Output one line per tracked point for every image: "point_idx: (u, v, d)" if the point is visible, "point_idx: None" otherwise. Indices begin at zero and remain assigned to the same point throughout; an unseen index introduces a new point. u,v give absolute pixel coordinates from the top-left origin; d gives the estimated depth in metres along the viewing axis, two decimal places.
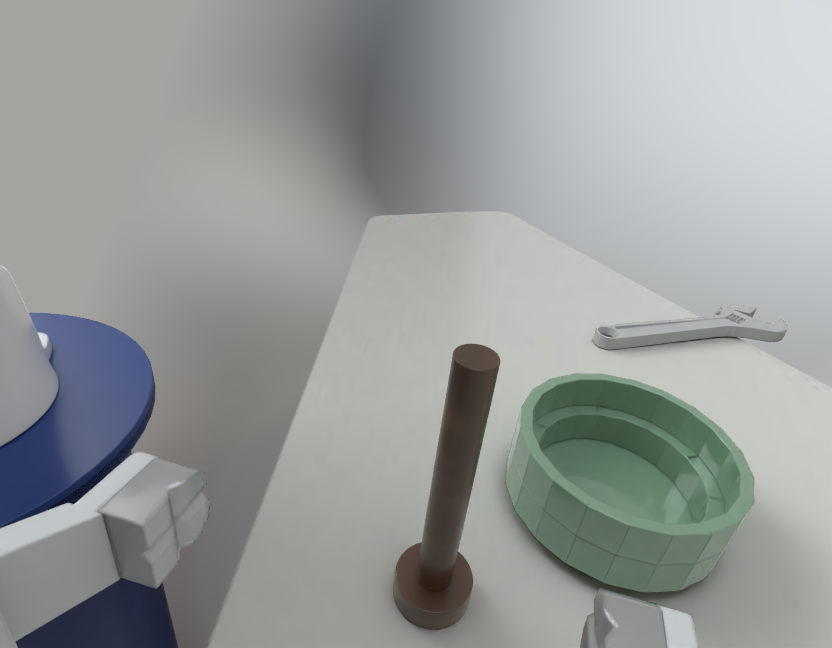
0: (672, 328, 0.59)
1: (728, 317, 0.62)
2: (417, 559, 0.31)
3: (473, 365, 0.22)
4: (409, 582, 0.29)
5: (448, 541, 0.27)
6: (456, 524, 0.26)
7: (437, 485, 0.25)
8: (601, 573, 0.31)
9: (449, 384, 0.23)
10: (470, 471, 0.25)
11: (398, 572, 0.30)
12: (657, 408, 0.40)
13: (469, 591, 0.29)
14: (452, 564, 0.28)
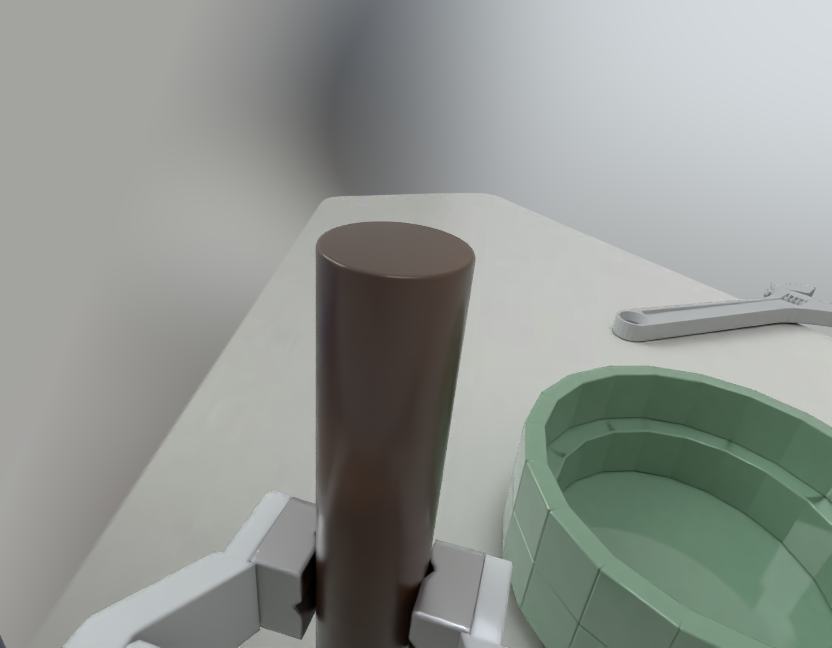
0: (716, 312, 0.44)
1: (784, 298, 0.47)
2: None
3: (378, 265, 0.06)
4: None
5: None
6: None
7: (321, 634, 0.09)
8: None
9: (316, 346, 0.07)
10: (406, 601, 0.09)
11: None
12: (743, 418, 0.24)
13: None
14: None
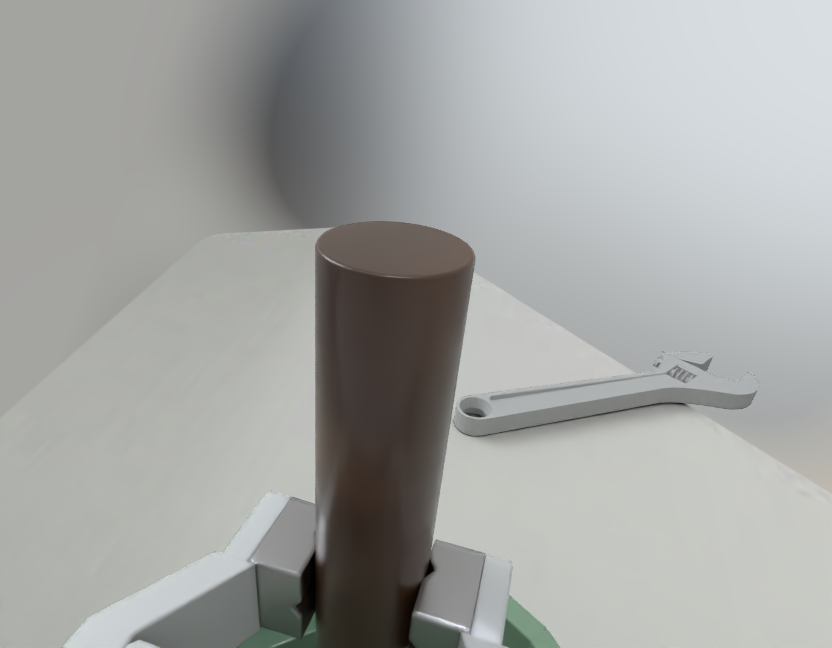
0: (581, 395, 0.38)
1: (670, 372, 0.42)
2: None
3: (378, 264, 0.06)
4: None
5: None
6: None
7: (321, 633, 0.09)
8: None
9: (315, 346, 0.07)
10: (406, 600, 0.09)
11: None
12: None
13: None
14: None
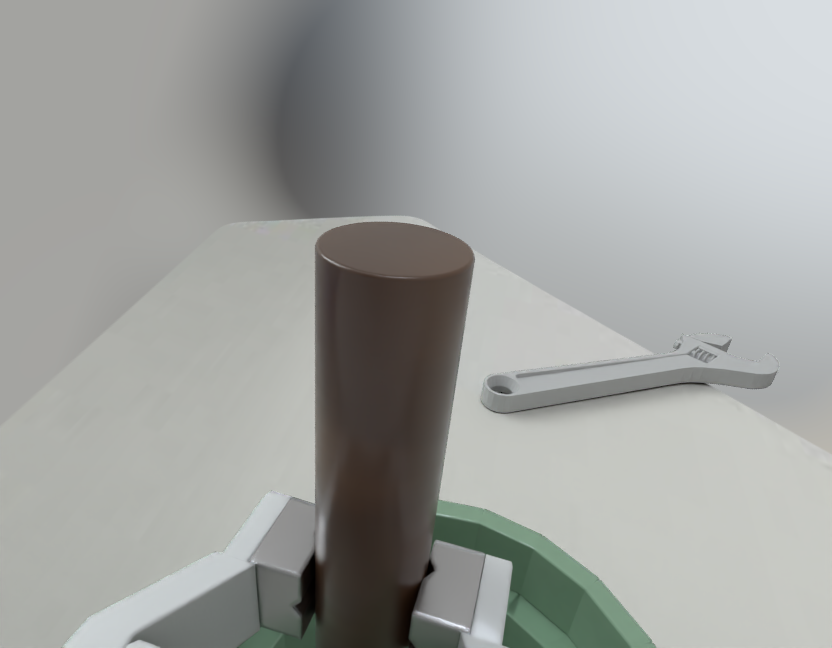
0: (605, 373, 0.38)
1: (691, 353, 0.42)
2: None
3: (378, 265, 0.06)
4: None
5: None
6: None
7: (321, 634, 0.09)
8: None
9: (315, 346, 0.07)
10: (406, 601, 0.09)
11: None
12: (529, 572, 0.19)
13: None
14: None
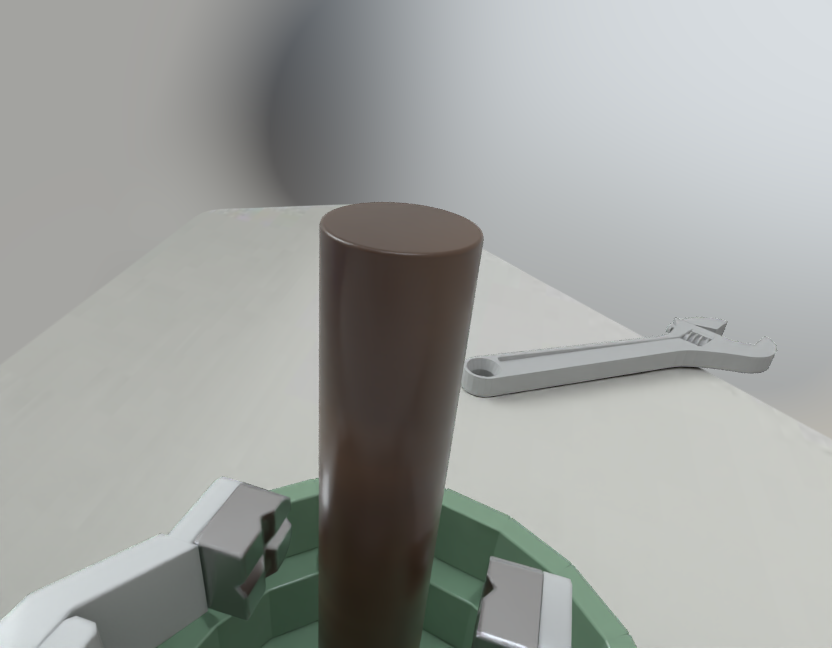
0: (593, 357, 0.36)
1: (684, 336, 0.40)
2: None
3: (385, 242, 0.06)
4: None
5: None
6: None
7: (325, 626, 0.09)
8: None
9: (319, 329, 0.07)
10: (412, 592, 0.09)
11: None
12: None
13: None
14: None
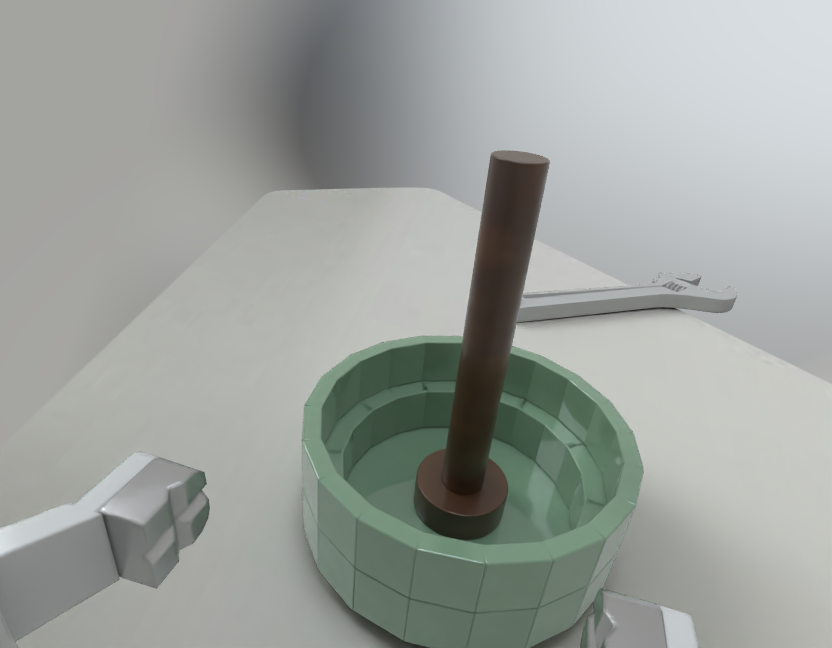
0: (594, 297, 0.48)
1: (666, 285, 0.52)
2: (441, 464, 0.26)
3: (518, 160, 0.17)
4: (433, 486, 0.25)
5: (482, 422, 0.22)
6: (492, 398, 0.22)
7: (469, 345, 0.21)
8: (398, 626, 0.20)
9: (486, 197, 0.18)
10: (511, 320, 0.20)
11: (420, 477, 0.25)
12: (532, 380, 0.29)
13: (505, 495, 0.25)
14: (485, 458, 0.24)
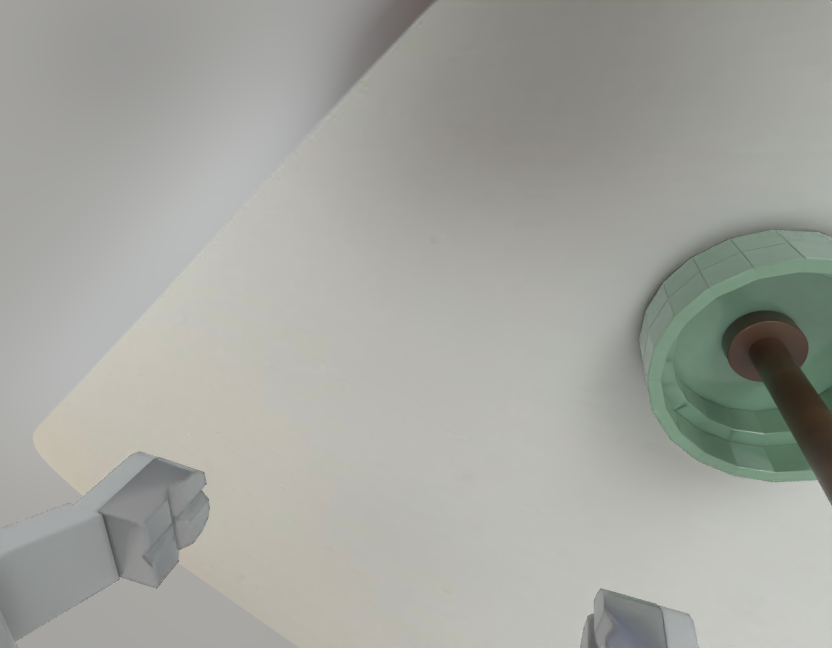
0: None
1: None
2: (784, 338, 0.32)
3: None
4: (757, 333, 0.33)
5: (769, 392, 0.30)
6: (778, 409, 0.29)
7: (801, 413, 0.26)
8: (648, 312, 0.35)
9: None
10: (803, 454, 0.26)
11: (768, 323, 0.32)
12: None
13: (750, 379, 0.34)
14: None
